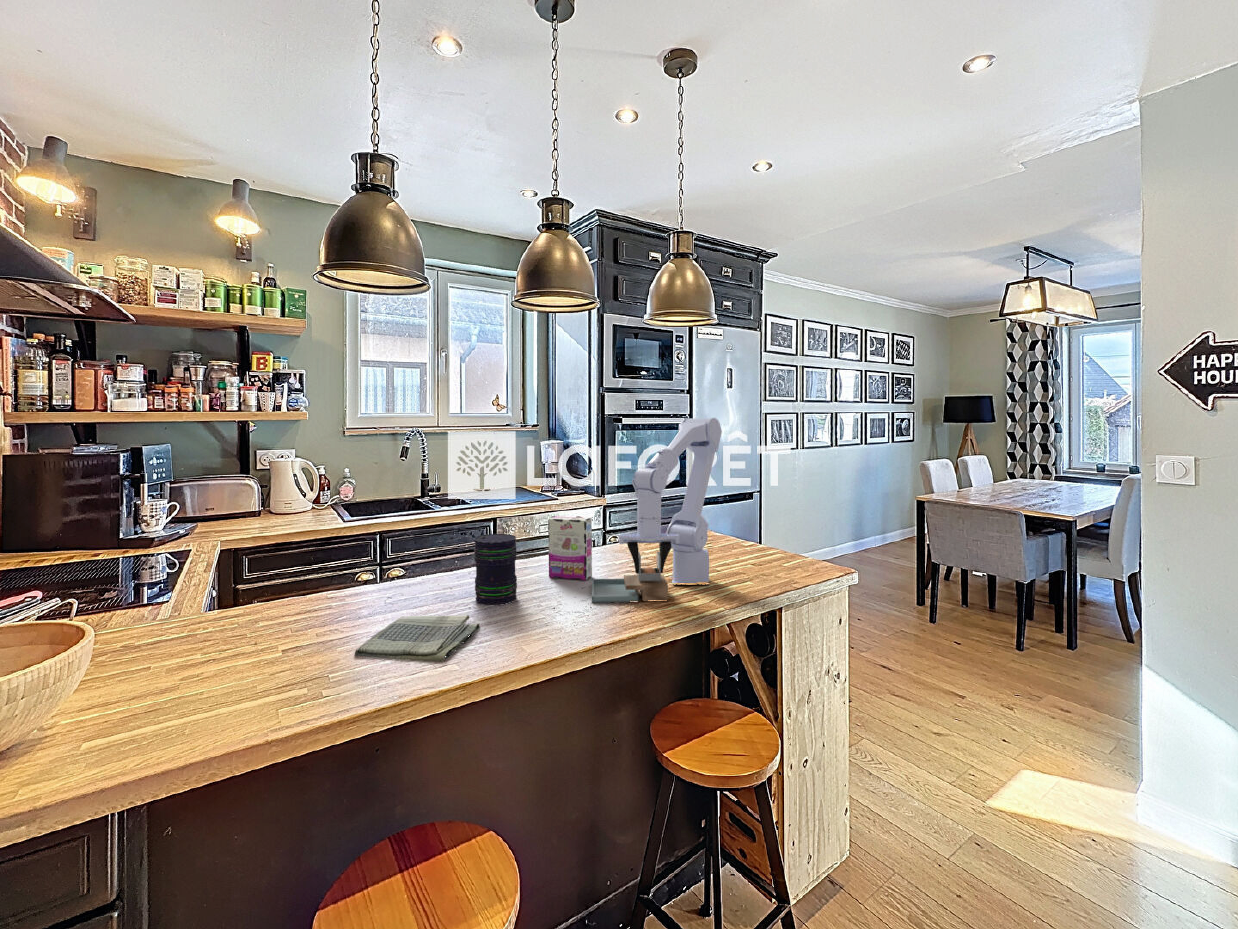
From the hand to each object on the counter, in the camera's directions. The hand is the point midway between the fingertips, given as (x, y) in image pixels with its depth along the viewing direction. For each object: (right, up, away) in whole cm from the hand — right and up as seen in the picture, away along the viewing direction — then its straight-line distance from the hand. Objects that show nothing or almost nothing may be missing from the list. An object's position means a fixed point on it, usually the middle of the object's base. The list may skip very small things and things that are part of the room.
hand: (648, 572), depth 142 cm
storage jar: (-37, -6, -2) cm, 37 cm away
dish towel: (-46, -9, -28) cm, 55 cm away
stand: (0, -6, 0) cm, 6 cm away
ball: (0, 0, 0) cm, 0 cm away
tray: (-8, -6, +3) cm, 11 cm away
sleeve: (0, -1, 0) cm, 1 cm away
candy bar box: (-21, -5, +18) cm, 28 cm away
